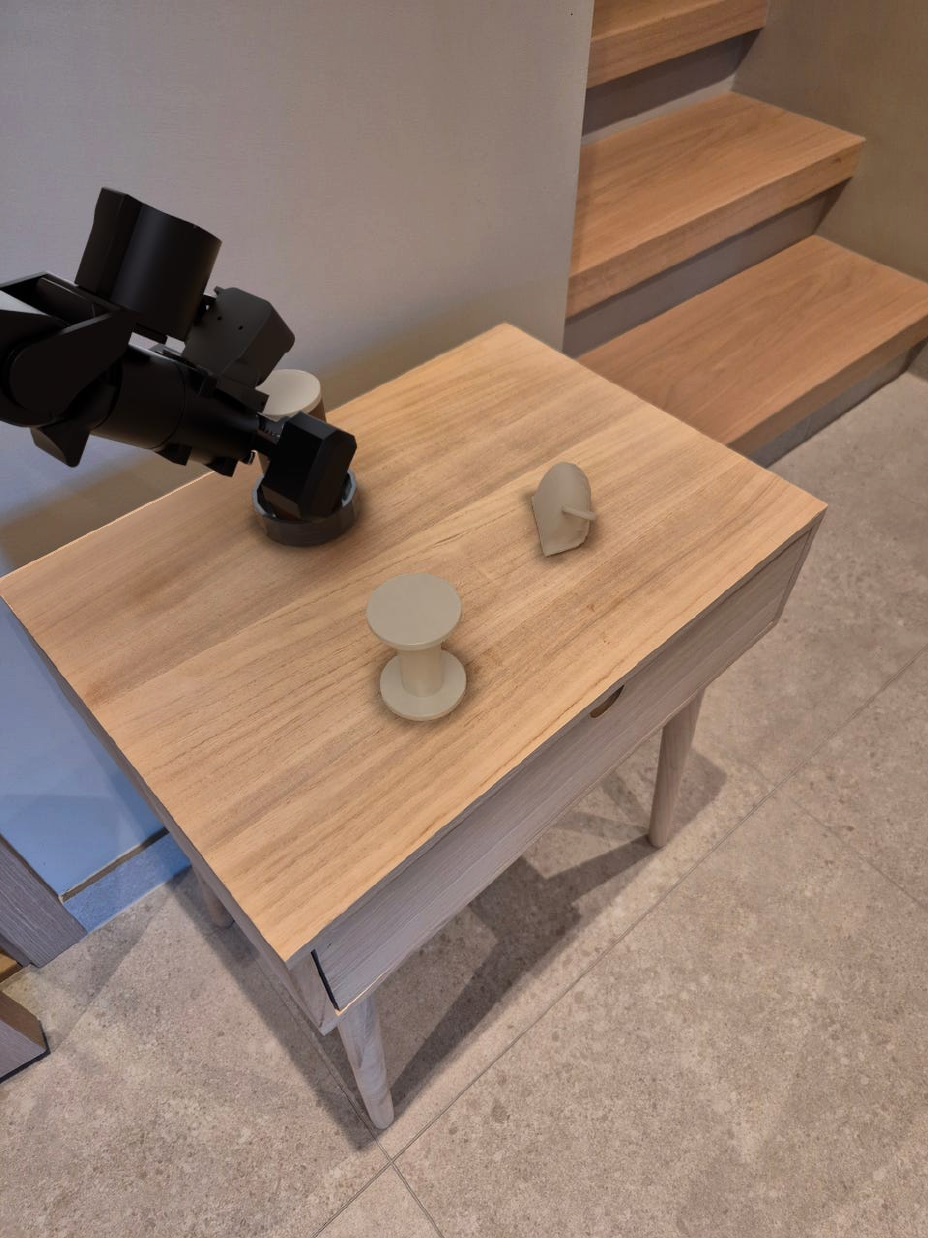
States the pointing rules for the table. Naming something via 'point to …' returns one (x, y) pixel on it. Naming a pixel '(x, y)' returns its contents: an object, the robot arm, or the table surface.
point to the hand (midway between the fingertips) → (310, 453)
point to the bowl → (307, 530)
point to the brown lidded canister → (291, 411)
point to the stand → (418, 644)
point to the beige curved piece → (563, 508)
